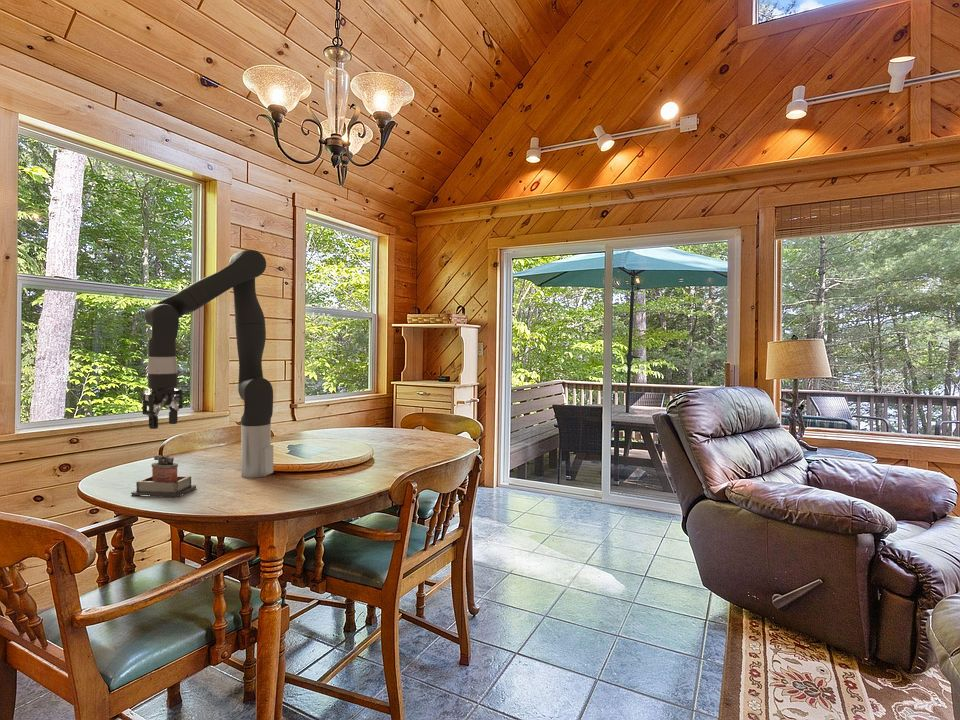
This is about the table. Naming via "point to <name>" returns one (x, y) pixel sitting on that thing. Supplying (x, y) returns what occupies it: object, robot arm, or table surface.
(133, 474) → the table surface
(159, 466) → the lighter
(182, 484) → the rectangular tray
